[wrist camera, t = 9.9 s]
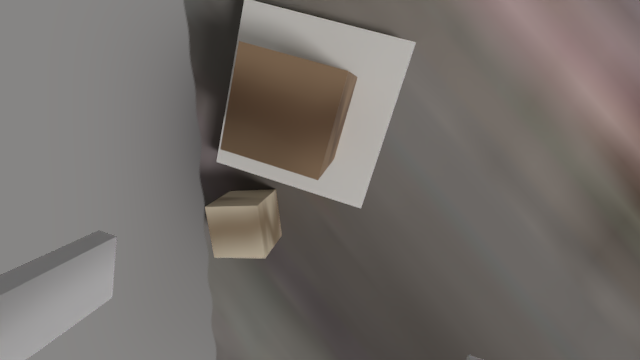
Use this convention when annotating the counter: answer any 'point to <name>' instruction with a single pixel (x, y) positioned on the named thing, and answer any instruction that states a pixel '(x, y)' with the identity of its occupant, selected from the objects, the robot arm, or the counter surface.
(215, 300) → the counter surface
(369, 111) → the tile
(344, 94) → the walnut cube
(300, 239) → the counter surface
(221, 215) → the maple block
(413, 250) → the counter surface
